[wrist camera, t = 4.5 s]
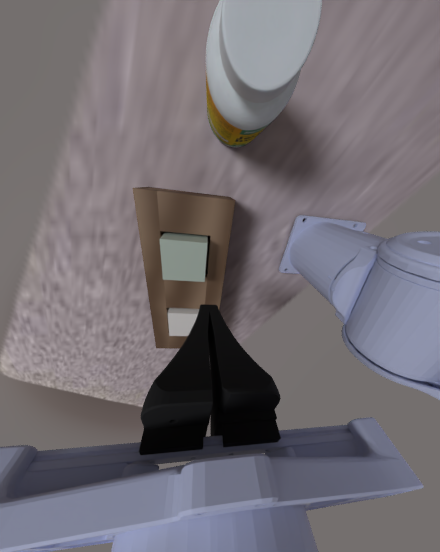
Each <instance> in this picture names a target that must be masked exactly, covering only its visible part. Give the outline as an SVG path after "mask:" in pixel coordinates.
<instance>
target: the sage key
mask: <svg viewBox="0 0 440 552" xmlns="http://www.w3.org/2000/svg"><path fill="white" fill-rule="evenodd" d="M159 240H160V251H161V263H162V275H163V280H178V281H196V282H205V270H206V257H207V243H208V235H198V234H187V233H176V232H165V233H164V234H163V235H162V237H161V238H160V239H159Z"/></svg>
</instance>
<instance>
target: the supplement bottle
mask: <svg viewBox="0 0 440 552" xmlns="http://www.w3.org/2000/svg"><path fill="white" fill-rule="evenodd" d="M321 8H322V0H220V2H219V4H218V6H217V8H216V10H215V13H214V15H213V18H212V21H211V25H210V29H209V33H208V39H207V46H206V88H207V113H208V120H209V124H210V127H211V129H212V131H213V133H214V135H215V136H216V137H217V139H218V140H219V141H220V142H222V143H223V144H225V145H227V146H230V147H242V146H244V145H246V144H248V143H249V142H251V141H252V140H253V139H254V138H255V137H256V136H257V135H258V134H259V133H260V132H262V131H263V130H264V129H265V128H266V127H267V126H268V125H269V124H270V123H271V122H272V121H274V119H275V118H276V117H277V116H278V115H279V114H280V113H281V112H282V110H283V109H284V108H285V106H286V105H287V103H288V101H289V100H290V98H291V96H292V94H293V92H294V89H295V87H296V84H297V81H298V78H299V75H300V71H301V68H302V67H303V65H304V63H305V61H306V59H307V57H308V55H309V53H310V51H311V49H312V46H313V44H314V41H315V37H316V34H317V31H318V26H319V22H320V16H321Z"/></svg>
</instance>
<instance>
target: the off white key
mask: <svg viewBox="0 0 440 552" xmlns="http://www.w3.org/2000/svg"><path fill="white" fill-rule="evenodd" d="M198 312H199V309H188V308H169V310H168V325H169V336H188V335H189V333H190V331H191V329H192V327H193V325H194V323H195V320H196V318H197V315H198Z"/></svg>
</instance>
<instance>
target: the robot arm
mask: <svg viewBox="0 0 440 552" xmlns="http://www.w3.org/2000/svg"><path fill="white" fill-rule="evenodd" d="M304 218H305V221H304V222H303V219H304ZM354 225H355V226H354ZM353 226H354V227H353ZM365 227H366V223H364V222H357V221H348V220H340V219H331V218H322V217H314V216H305V215H299V216H297V218H296V220H295V223H294V226H293V229H292V231H291V234H290V237H289V240H288V243H287V246H286V249H285V252H284V255H283V258H282V261H281V264H280V267H279V271H280V272H281V273H294V274H301V275H302V276H303V277H304V278H305V279H306V280H307V281H308V282H309V283H310V284H311V285H312V286H313V287H314V288H315V289H317V291H318V292H320V293H321V294H322V295H323V296H324V297H325V298H326V299H327V300H328V301H329V302H330V303H331V304H332V305H333V306H334V307H335V309H336V314H335V315H336V316H337V317H338V318H339V319H340V320H341V321H342V322H343V323H344V325H343V328H342V338H343V341H344V343H345V345H346V346H347V348H348V349H349V351H350V352H351V353H352V354H353V355H354V356H355V357H356V358H357V359H358V360H359V361H360V362H361V363H363V364H364V365H365V366H367V367H368V368H370V369H371V370H373V371H374V372H376V373H378V374H379V375H381V376H383V377H385V378H387V379H390V380H392V381H394V382H397V383H399V384H402V385H405V386H408V387H411V388H415V389H417V390H420V391H422V392H425V393H427V394H429V395H431V396H433V397H435V398H437V399H439V400H440V232H432V231H430V232H428V231H427V232H425V231H424V232H410V233H404V234H400V235H398V236H395V237H392V238H389V239H385V238H382V237H379V236H376V235H373V234H370V233H367V232H363V230H364V229H365ZM285 269H286V270H285ZM209 359H210V361H209ZM279 401H280V394H279V392H278V389H277V387H276V385H275V383H274V381H273V379H272V377H271V376H270V375H269V374H268V373H267V372H265V371H264V370H263V369H262V368H261V367H260V366H259V365H258V364H257V363H256V362H255V361H254V360H253V359H252V358H251V357H250V356H249V355H248V354H247V353H246V352H245V350H244V349H243V348H242V347H241V346H240V344H239V343H238V342H237V340H236V339H235V338H234V336H233V335H232V333H231V332H230V330H229V328H228V327H227V325H226V323H225V321H224V320H223V318H222V316H221V314H220V311H219V309H218V306H217V305H206V304H201V305H200V308H199V312H198V315H197V318H196V320H195V323H194V325H193V327H192V329H191V331H190V333H189V335H188V337H187V339H186V340H185V342H184V343H183V345H182V346H181V348H180V349H179V351H178V352H177V354H176V355H175V356H174V358H173V359H172V360H171V362H170V363H169V364H168V365H167V367H166V368H165V369H164V370H163V371H162V372H161V374H160V375H159V376H158V377H157V378H156V379H155V380H154V382H153V384H152V386H151V388H150V390H149V392H148V394H147V397H146V399H145V402H144V405H143V409H142V412H141V420H142V423H143V425H144V432H143V436H142V440H141V442H139V443H127V444H116V445H104V446H92V447H80V448H68V449H56V450H45V451H37V449H36V448H35V447H33V446H28V445H21V446H20V445H19V446H6V447H0V552H49V551H56V550H62V549H69V548H76V547H83V546H90V545H96V544H103V543H110V542H113V546H112V550H111V552H318V549H317V546H316V543H315V540H314V536H313V533H312V530H311V527H310V523H309V520H308V517H307V514H306V511H307V510H312V509H318V508H323V507H329V506H335V505H340V504H346V503H352V502H357V501H363V500H369V499H375V498H381V497H388V496H392V495H396V494H400V493H404V492H409V491H413V490H417V489H421V488H423V484H422V483H421V482H420V481H419V479H418V478H417V476H416V475H415V474H414V472H413V471H412V470H411V468H410V467H409V465H408V464H407V463H406V461H405V460H404V458H403V457H402V456H401V454H400V453H399V451H398V450H397V449H396V447H395V446H394V445H393V443H392V442H391V441H390V439H389V438H388V436H387V435H386V434H385V432H384V431H383V429H382V428H381V427H380V425H379V424H378V423H377V421H376V420H375V419H374V418H372V417H370V418H358V419H354V420H352V421H350V422H349V423H348V424H347V425H339V426H327V427H315V428H304V429H292V430H281V431H279V430H278V427H277V423H276V419H277V417H276V414H275V410H274V409H275V408H276V406H277V405H278V403H279ZM210 415H211V436H209V437H206V431H207V426H208V424H209V419H210ZM261 453H265V454H261ZM192 460H194V461H192ZM182 461H191V462H189V463H186V464H185V465H181V466H176V467H171V468H166V469H161V470H159V466H158V465H154V464H163V463H172V462H182Z"/></svg>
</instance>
